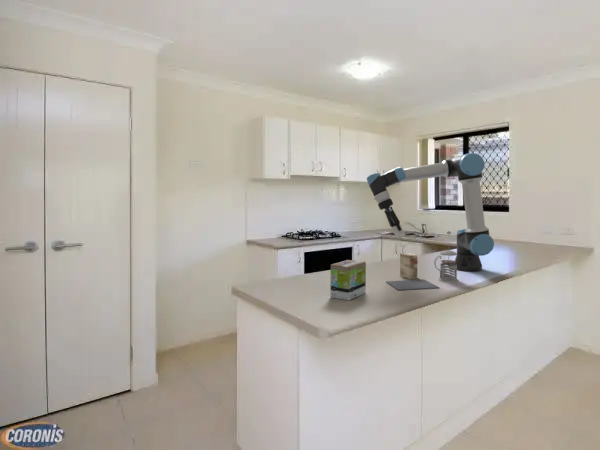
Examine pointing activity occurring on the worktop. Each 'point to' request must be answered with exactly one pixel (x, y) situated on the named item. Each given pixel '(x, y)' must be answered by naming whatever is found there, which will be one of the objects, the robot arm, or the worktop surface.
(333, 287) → the tea box
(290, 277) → the worktop surface
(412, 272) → the birch block
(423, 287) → the mat
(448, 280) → the french press
